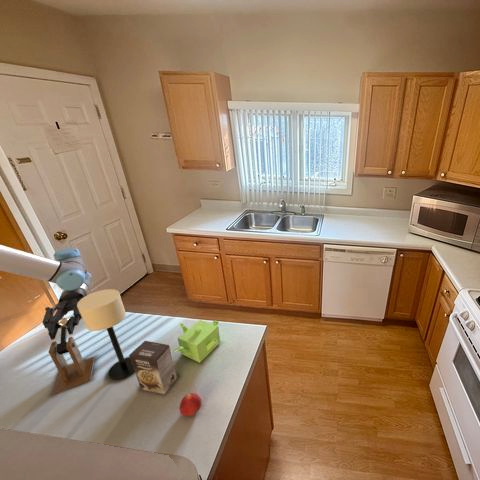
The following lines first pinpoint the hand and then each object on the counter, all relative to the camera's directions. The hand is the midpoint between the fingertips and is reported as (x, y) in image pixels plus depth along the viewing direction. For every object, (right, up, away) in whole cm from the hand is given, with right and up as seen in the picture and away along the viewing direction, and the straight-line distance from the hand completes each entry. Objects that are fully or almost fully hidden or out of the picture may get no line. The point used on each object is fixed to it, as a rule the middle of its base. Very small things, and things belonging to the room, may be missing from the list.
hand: (60, 333), depth 82 cm
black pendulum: (-1, -2, +3) cm, 4 cm away
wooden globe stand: (+1, -16, +5) cm, 17 cm away
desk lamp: (+15, -16, +8) cm, 23 cm away
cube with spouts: (+37, -13, +17) cm, 43 cm away
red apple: (+45, -23, -4) cm, 51 cm away
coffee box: (+30, -19, +3) cm, 36 cm away
